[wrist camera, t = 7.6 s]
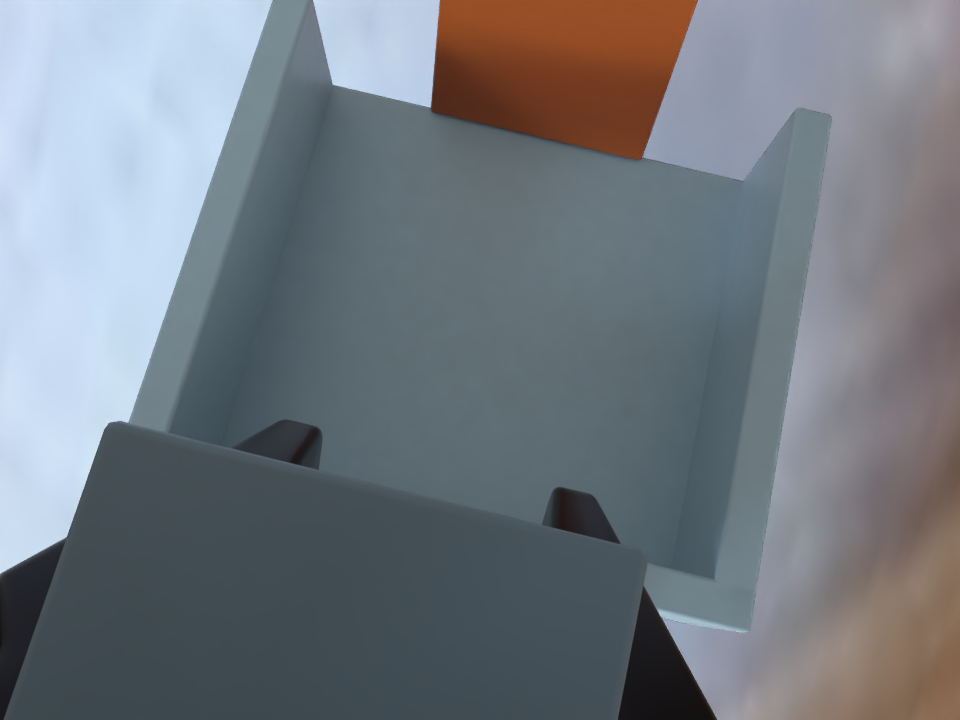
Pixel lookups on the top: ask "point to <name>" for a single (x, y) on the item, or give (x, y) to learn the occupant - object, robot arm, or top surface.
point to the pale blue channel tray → (431, 419)
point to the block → (560, 67)
